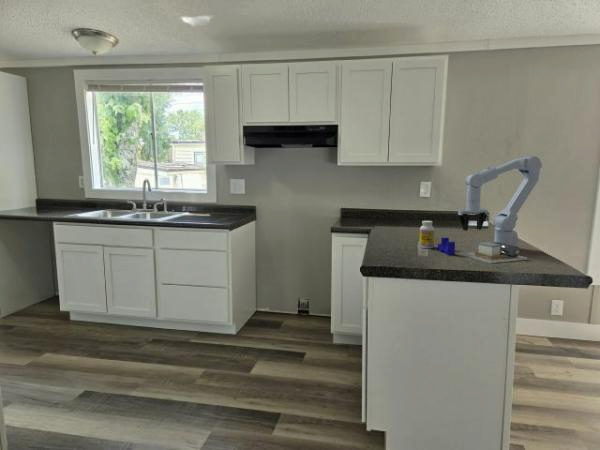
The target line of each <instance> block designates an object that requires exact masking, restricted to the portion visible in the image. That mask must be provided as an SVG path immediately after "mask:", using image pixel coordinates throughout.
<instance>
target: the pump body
mask: <svg viewBox="0 0 600 450" xmlns="http://www.w3.org/2000/svg"><path fill="white" fill-rule="evenodd" d="M477 252H479V253H483V254H486V255H490V256H496V255H500V245H499V244H494V243H493V242H488V241H484V242H478V251H477Z"/></svg>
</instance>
